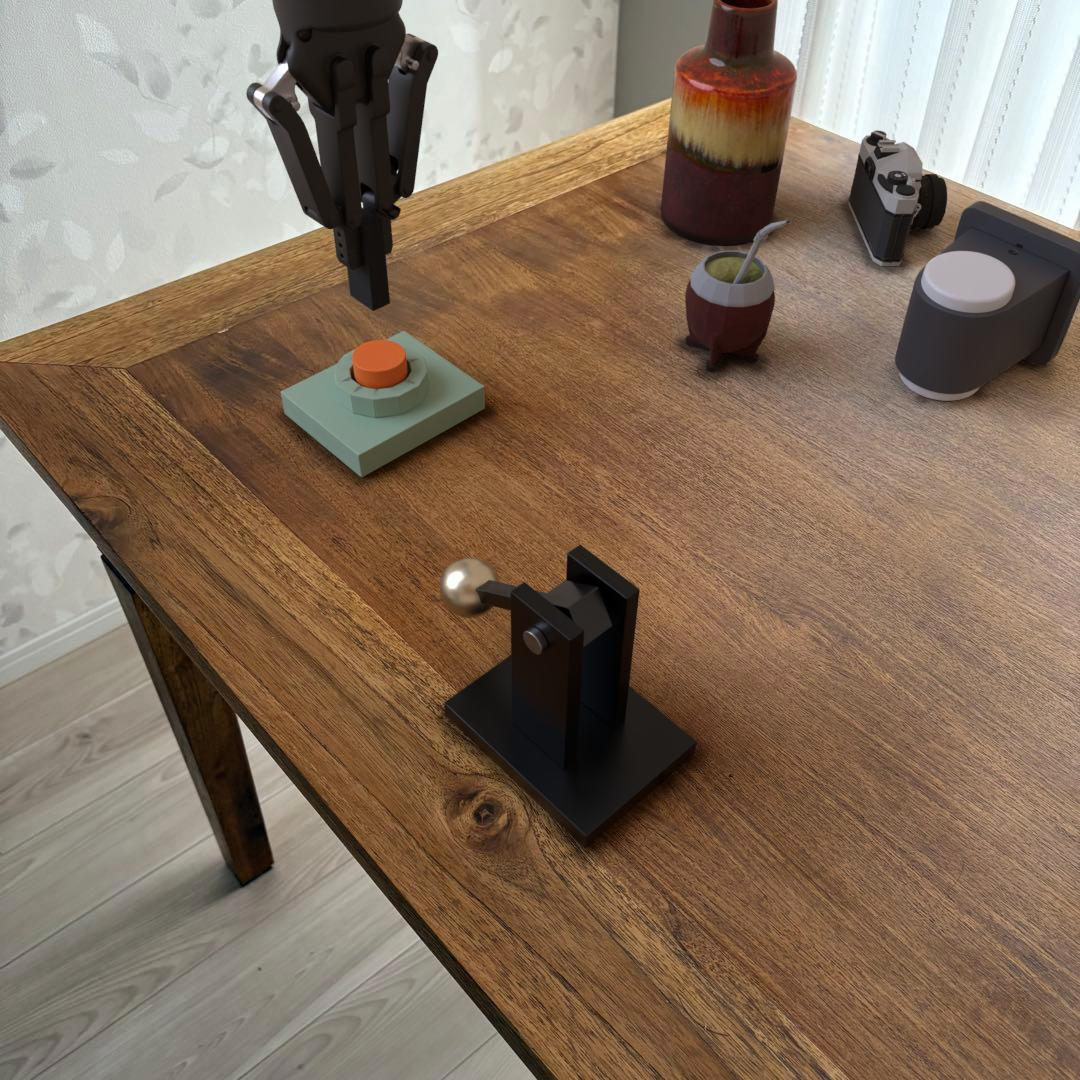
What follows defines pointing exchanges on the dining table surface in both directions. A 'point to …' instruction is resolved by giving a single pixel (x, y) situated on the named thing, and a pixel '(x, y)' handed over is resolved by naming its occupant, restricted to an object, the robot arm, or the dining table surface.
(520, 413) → the dining table surface
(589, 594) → the switch lever
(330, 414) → the button box
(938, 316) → the light fixture
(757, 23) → the vase
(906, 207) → the camera
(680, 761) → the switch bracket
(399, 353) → the button
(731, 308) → the mate gourd
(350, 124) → the robot arm
